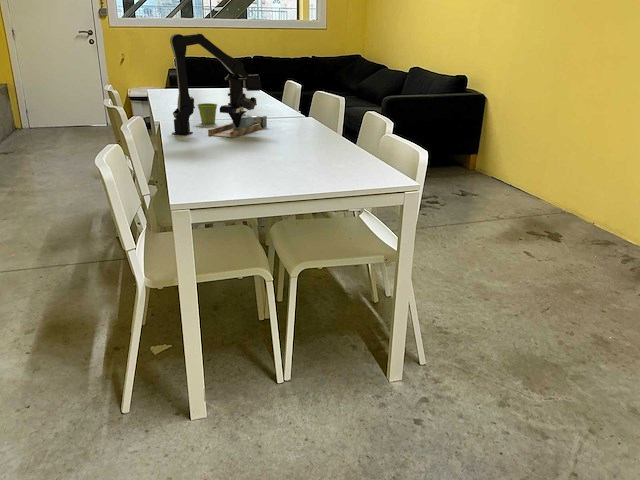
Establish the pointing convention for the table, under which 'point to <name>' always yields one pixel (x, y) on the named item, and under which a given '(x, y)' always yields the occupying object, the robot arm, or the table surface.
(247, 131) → the brown tray
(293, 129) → the table surface
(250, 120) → the grey box
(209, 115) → the plant pot
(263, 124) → the winch drum
